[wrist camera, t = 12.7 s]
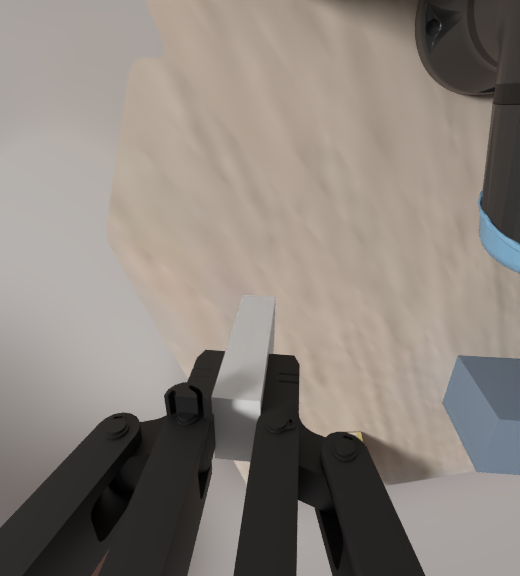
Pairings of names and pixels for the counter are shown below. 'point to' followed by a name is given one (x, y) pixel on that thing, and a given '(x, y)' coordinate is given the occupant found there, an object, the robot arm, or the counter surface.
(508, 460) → the block
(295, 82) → the counter surface
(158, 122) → the counter surface
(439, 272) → the counter surface
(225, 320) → the counter surface
